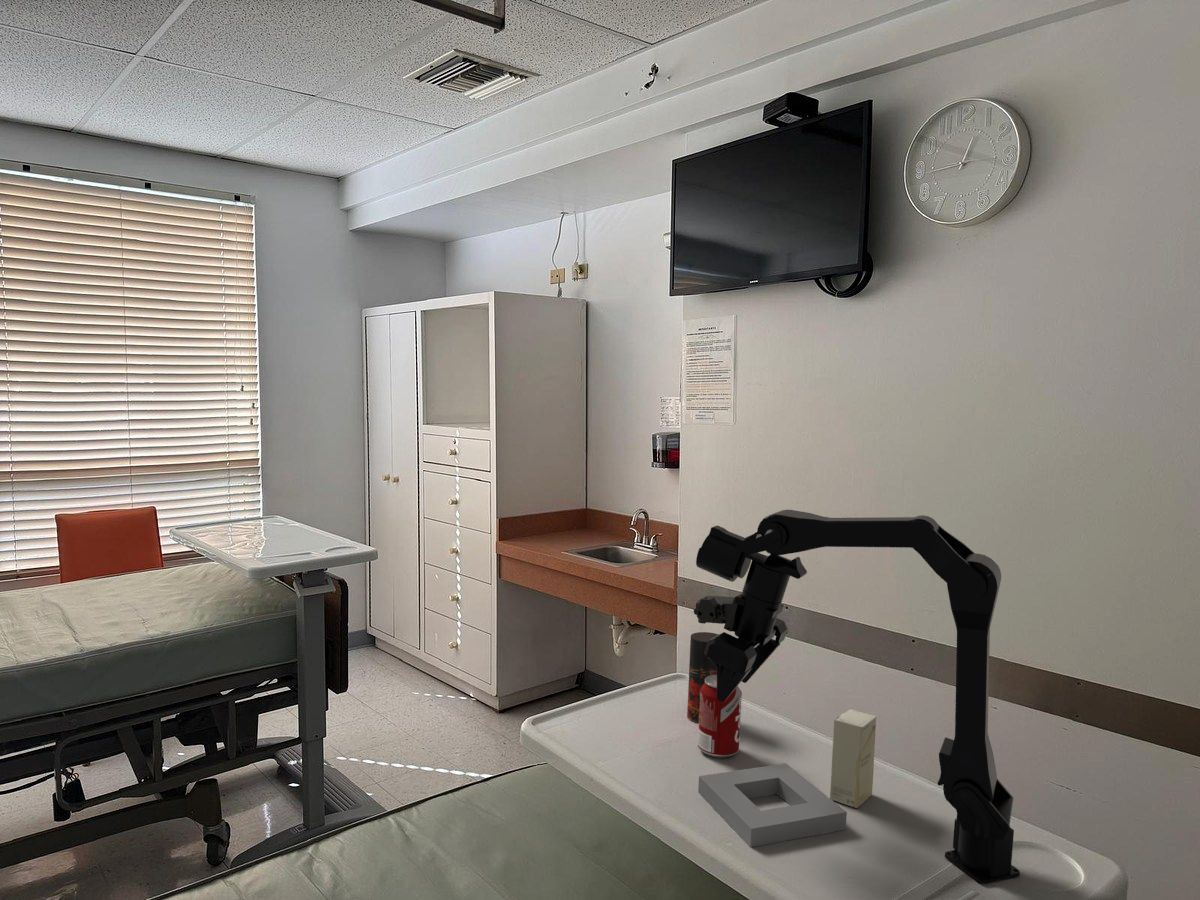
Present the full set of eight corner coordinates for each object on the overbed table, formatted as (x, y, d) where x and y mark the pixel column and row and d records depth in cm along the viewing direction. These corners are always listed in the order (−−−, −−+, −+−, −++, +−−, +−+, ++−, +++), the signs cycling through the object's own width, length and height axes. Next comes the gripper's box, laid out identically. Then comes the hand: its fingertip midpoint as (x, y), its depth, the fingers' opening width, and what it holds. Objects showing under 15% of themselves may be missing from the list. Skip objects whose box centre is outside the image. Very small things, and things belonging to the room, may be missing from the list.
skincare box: (857, 810, 118) (862, 728, 117) (827, 799, 121) (832, 719, 120) (873, 793, 123) (878, 715, 122) (844, 784, 126) (849, 707, 125)
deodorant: (683, 711, 152) (687, 632, 151) (715, 711, 152) (719, 632, 151) (690, 724, 146) (694, 642, 145) (723, 724, 147) (727, 642, 145)
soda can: (707, 762, 131) (710, 689, 131) (691, 744, 138) (694, 674, 137) (745, 758, 133) (749, 686, 132) (728, 740, 140) (731, 672, 139)
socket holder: (845, 829, 113) (846, 812, 113) (750, 847, 108) (751, 828, 107) (785, 778, 127) (786, 763, 127) (698, 792, 122) (699, 776, 121)
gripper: (734, 562, 129) (707, 650, 133) (686, 585, 113) (657, 685, 116) (801, 589, 124) (771, 681, 128) (761, 618, 108) (727, 722, 111)
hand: (731, 690), depth 121 cm, fingers open, 9 cm apart
